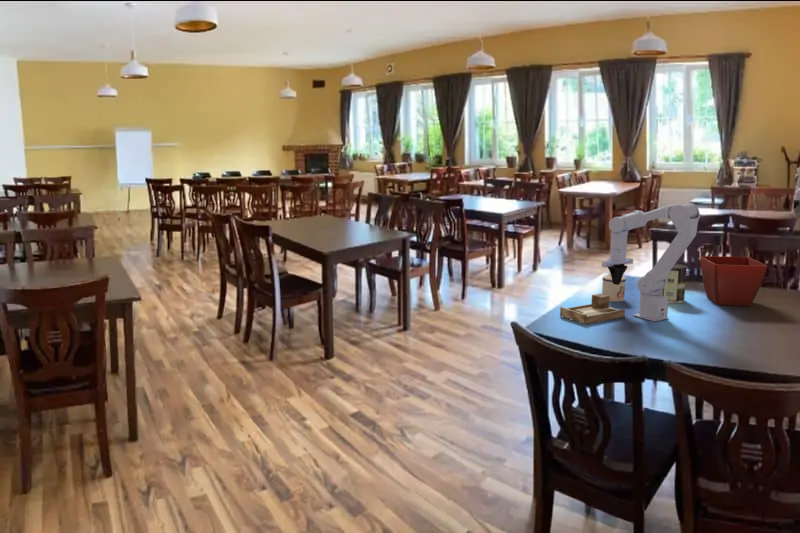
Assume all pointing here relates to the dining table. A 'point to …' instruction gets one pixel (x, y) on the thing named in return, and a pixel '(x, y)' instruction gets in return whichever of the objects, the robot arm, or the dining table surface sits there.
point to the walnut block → (600, 301)
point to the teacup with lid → (613, 288)
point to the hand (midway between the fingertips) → (616, 284)
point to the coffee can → (675, 284)
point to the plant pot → (731, 279)
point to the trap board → (590, 313)
